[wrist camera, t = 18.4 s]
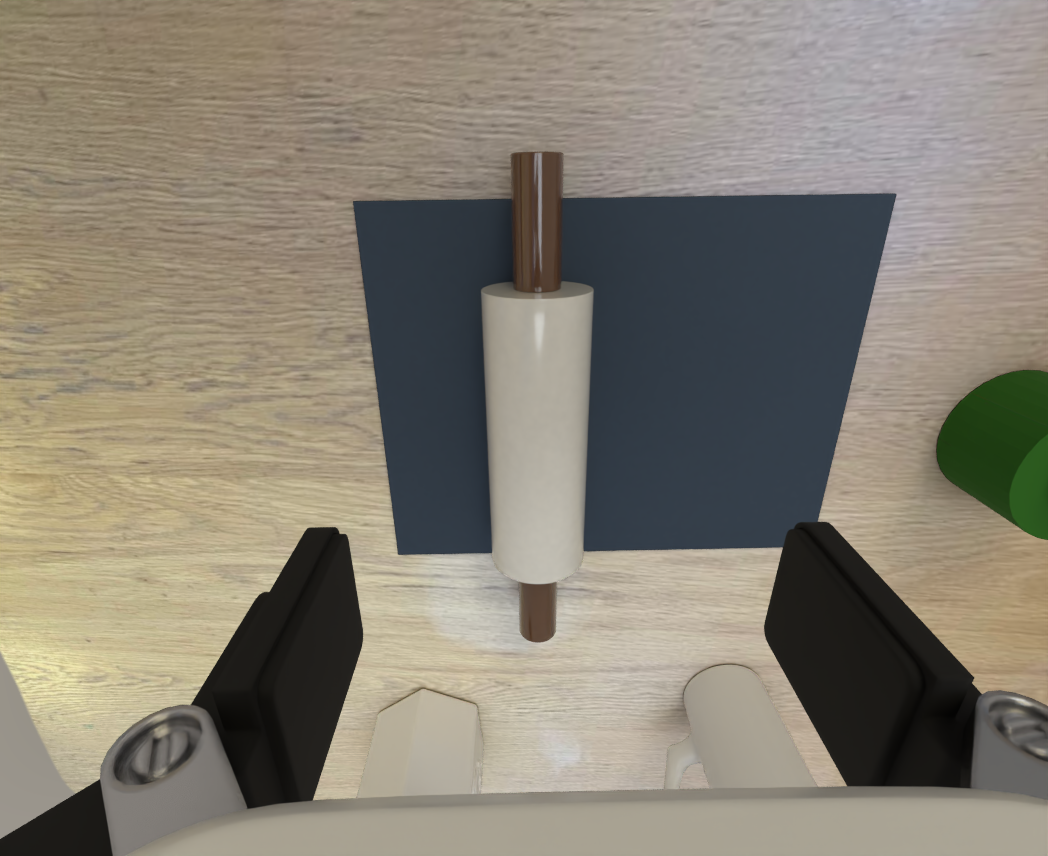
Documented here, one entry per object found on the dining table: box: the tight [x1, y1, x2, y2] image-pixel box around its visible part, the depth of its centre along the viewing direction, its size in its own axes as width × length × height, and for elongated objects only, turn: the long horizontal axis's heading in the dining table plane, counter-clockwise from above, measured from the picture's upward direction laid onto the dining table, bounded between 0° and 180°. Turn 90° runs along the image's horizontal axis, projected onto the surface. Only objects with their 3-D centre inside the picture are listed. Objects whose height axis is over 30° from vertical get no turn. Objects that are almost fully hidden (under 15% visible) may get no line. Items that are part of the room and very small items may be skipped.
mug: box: [664, 665, 818, 789], centre depth 37 cm, size 10×7×12 cm, turn 118°
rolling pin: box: [481, 152, 594, 642], centre depth 30 cm, size 28×6×6 cm
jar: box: [356, 689, 484, 798], centre depth 38 cm, size 9×8×12 cm
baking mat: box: [353, 194, 896, 555], centre depth 32 cm, size 28×22×1 cm
